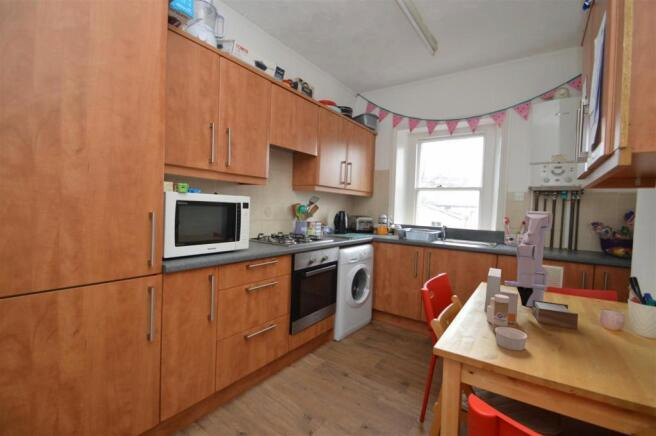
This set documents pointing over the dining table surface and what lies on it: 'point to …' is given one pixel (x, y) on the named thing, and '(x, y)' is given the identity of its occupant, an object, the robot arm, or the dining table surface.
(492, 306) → the salt shaker
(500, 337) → the ramekin
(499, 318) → the sprinkles bottle
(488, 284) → the skincare box
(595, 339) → the dining table surface
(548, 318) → the case
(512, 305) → the skincare box
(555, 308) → the lid
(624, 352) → the dining table surface
